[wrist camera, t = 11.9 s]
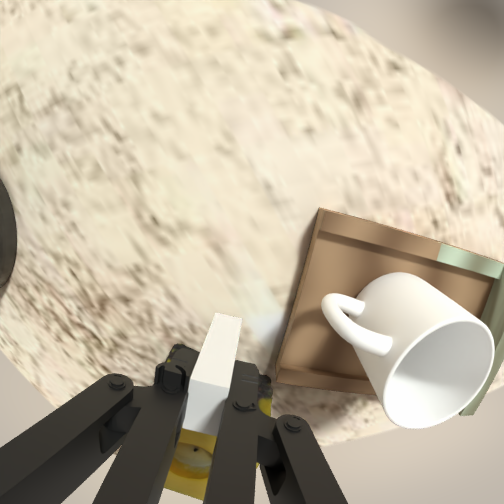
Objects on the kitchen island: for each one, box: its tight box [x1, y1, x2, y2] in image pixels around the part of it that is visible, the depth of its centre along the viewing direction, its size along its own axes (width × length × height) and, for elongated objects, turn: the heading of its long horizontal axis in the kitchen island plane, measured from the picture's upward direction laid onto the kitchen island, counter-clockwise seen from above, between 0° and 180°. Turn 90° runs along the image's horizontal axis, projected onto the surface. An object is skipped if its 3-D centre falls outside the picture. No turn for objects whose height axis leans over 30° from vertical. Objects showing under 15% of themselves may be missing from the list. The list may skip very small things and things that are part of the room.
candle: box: [163, 344, 273, 501], centre depth 26 cm, size 10×10×10 cm
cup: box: [321, 272, 495, 429], centre depth 21 cm, size 8×12×10 cm
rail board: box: [275, 207, 504, 416], centre depth 25 cm, size 21×15×6 cm
